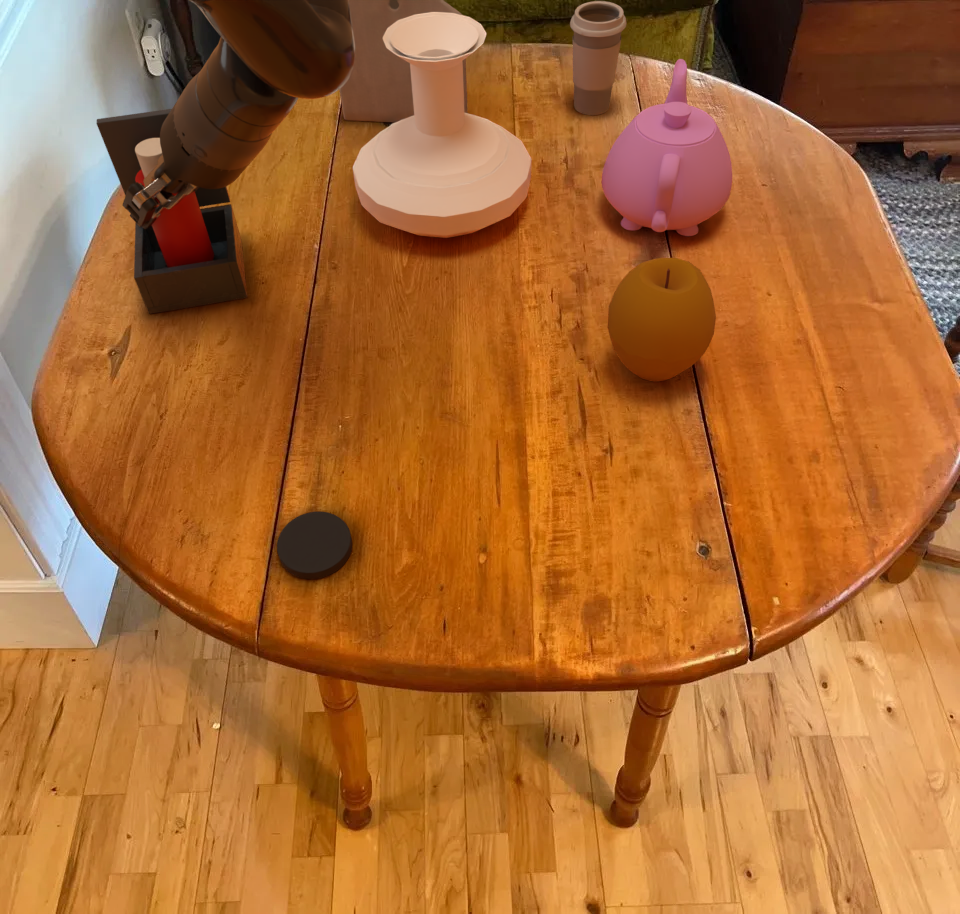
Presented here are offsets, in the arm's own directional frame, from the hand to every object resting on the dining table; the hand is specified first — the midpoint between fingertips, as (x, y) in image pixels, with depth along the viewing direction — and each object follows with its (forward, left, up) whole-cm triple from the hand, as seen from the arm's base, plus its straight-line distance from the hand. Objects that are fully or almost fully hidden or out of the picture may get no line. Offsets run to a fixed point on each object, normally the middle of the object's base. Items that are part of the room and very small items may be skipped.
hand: (160, 205), depth 88 cm
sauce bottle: (+1, -1, -6) cm, 6 cm away
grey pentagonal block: (+30, +27, -9) cm, 41 cm away
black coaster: (+10, -39, -8) cm, 41 cm away
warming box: (+1, -1, -8) cm, 9 cm away
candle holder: (+30, +5, -9) cm, 31 cm away
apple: (+44, -26, -9) cm, 52 cm away
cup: (+53, +21, -9) cm, 58 cm away
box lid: (+1, +3, +2) cm, 4 cm away
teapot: (+54, -2, -9) cm, 55 cm away
